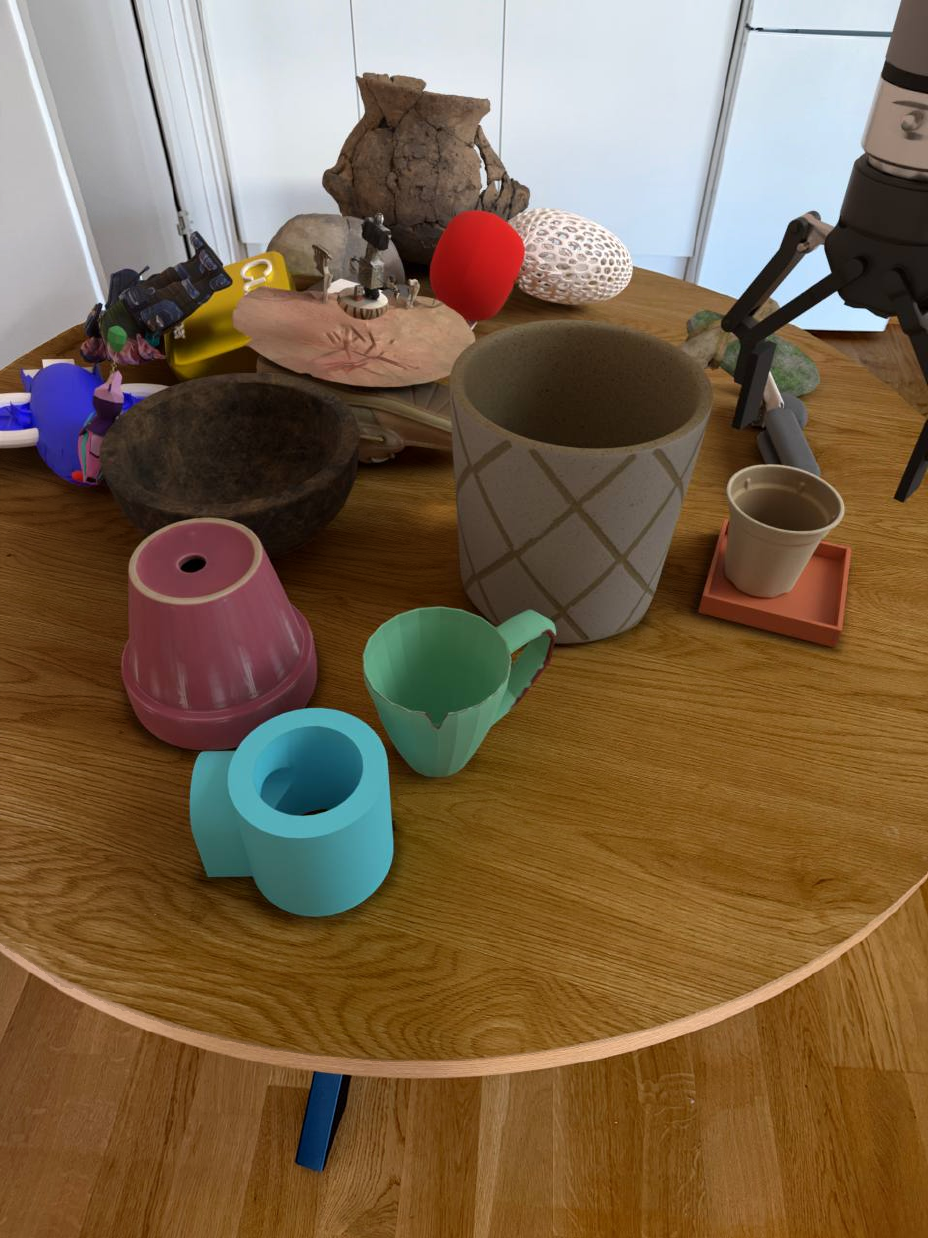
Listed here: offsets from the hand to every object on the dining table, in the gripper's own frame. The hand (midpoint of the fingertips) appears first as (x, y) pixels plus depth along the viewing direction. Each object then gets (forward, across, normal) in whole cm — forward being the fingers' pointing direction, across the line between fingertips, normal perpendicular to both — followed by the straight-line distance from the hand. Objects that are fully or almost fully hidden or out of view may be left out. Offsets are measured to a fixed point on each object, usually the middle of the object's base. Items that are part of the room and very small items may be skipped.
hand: (821, 456), depth 70 cm
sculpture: (+6, -49, -5) cm, 49 cm away
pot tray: (+14, 0, 0) cm, 14 cm away
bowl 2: (+2, -70, +11) cm, 71 cm away
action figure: (0, -65, -10) cm, 66 cm away
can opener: (+14, -10, +19) cm, 26 cm away
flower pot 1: (+1, -25, -40) cm, 47 cm away
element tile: (+10, -65, -8) cm, 67 cm away
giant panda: (+7, -55, +6) cm, 56 cm away
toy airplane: (+8, -64, -30) cm, 71 cm away
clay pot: (+12, -70, +23) cm, 75 cm away
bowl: (+14, -39, -27) cm, 50 cm away
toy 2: (+10, -72, -15) cm, 75 cm away
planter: (+14, -14, -13) cm, 24 cm away
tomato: (+3, -55, +12) cm, 56 cm away
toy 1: (-4, -52, -28) cm, 59 cm away
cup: (+14, -9, -45) cm, 48 cm away
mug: (+14, -8, -31) cm, 35 cm away
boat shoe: (+6, -40, -9) cm, 42 cm away
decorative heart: (+4, -49, +21) cm, 54 cm away
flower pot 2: (+14, -2, 0) cm, 14 cm away
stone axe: (+13, -17, +13) cm, 25 cm away
